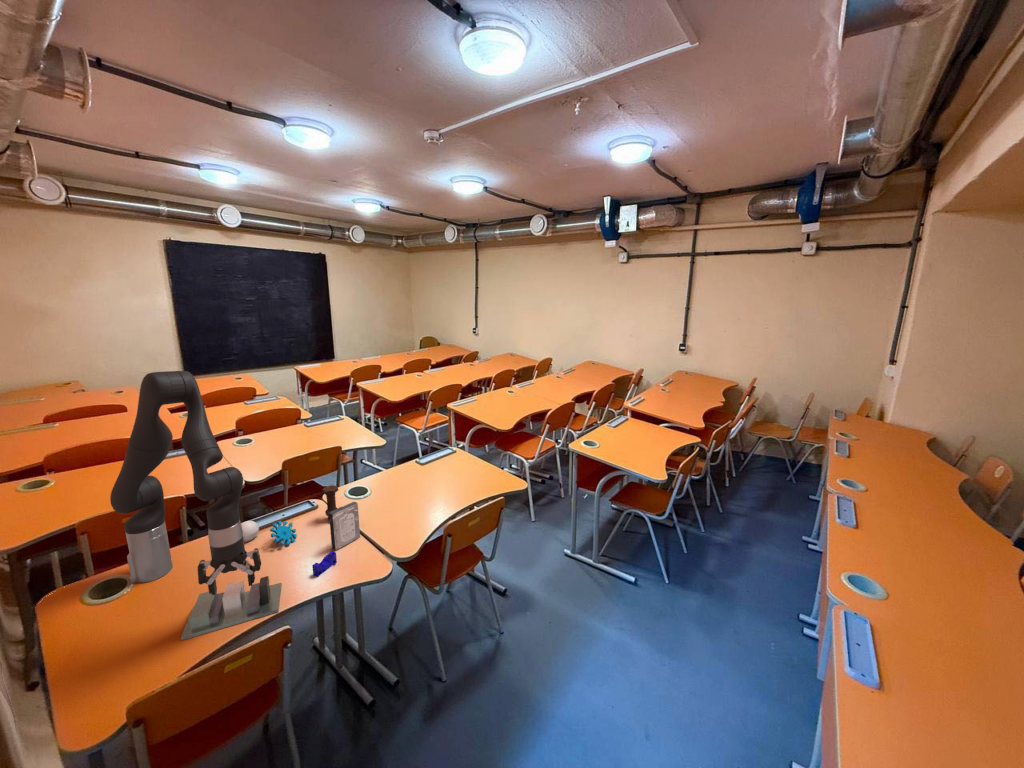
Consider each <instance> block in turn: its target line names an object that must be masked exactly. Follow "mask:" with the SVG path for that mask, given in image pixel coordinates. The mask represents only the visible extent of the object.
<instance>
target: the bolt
mask: <svg viewBox="0 0 1024 768" xmlns="http://www.w3.org/2000/svg"><path fill="white" fill-rule="evenodd" d="M338 491H339V487H338V486H337V485H333V484H331V485H328V486H325V487H323V488H322V494H323V495H325V497H326V505H327V507H326V509H325V511H324V512H325V515H326V516H327V517H328V518H327V519H328V522H330V521H329V512H331V511H333V510H335V509H338V508H339V507H337V504H336V502H337V501H336V493H337V492H338Z"/></svg>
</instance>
